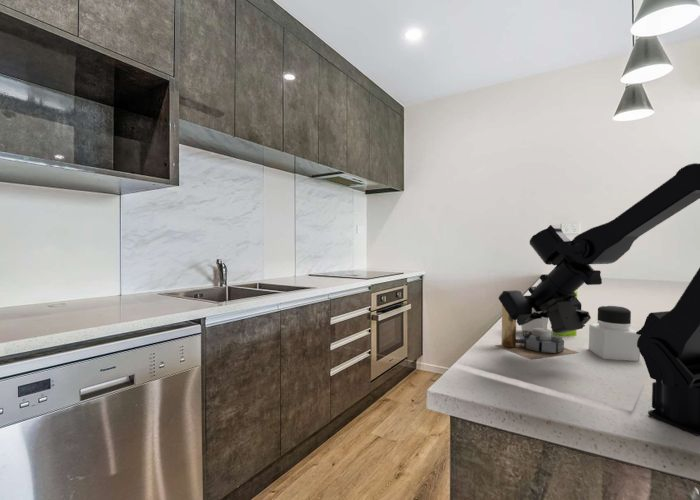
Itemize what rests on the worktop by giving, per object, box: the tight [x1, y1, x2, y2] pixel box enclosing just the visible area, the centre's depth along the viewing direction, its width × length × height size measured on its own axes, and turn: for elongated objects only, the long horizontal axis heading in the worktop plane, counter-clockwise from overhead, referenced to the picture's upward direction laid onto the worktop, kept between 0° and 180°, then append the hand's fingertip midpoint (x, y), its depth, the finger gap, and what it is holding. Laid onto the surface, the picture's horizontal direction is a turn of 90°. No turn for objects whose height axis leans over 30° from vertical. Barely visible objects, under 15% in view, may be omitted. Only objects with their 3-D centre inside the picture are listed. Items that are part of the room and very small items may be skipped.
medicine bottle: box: [588, 305, 641, 362], centre depth 80 cm, size 7×7×12 cm
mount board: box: [495, 328, 580, 361], centre depth 84 cm, size 11×14×5 cm
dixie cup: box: [520, 317, 549, 334], centre depth 98 cm, size 8×8×10 cm
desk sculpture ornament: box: [501, 304, 565, 353], centre depth 85 cm, size 9×14×10 cm, turn 81°
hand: (518, 323), depth 83 cm, fingers closed
